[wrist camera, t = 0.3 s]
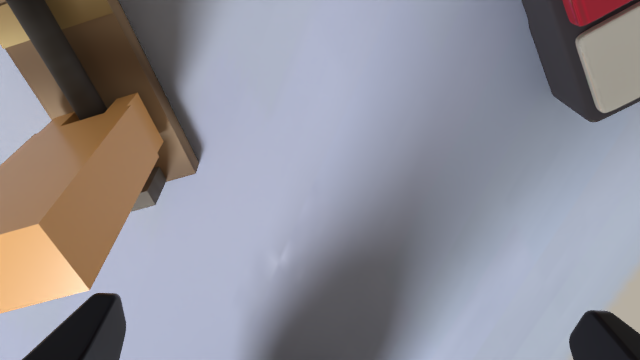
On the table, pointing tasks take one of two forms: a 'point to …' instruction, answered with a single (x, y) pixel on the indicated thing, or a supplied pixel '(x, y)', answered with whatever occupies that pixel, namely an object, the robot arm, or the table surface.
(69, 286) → the orange slab
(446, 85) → the table surface
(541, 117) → the table surface
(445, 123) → the table surface
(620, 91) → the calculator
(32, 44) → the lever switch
